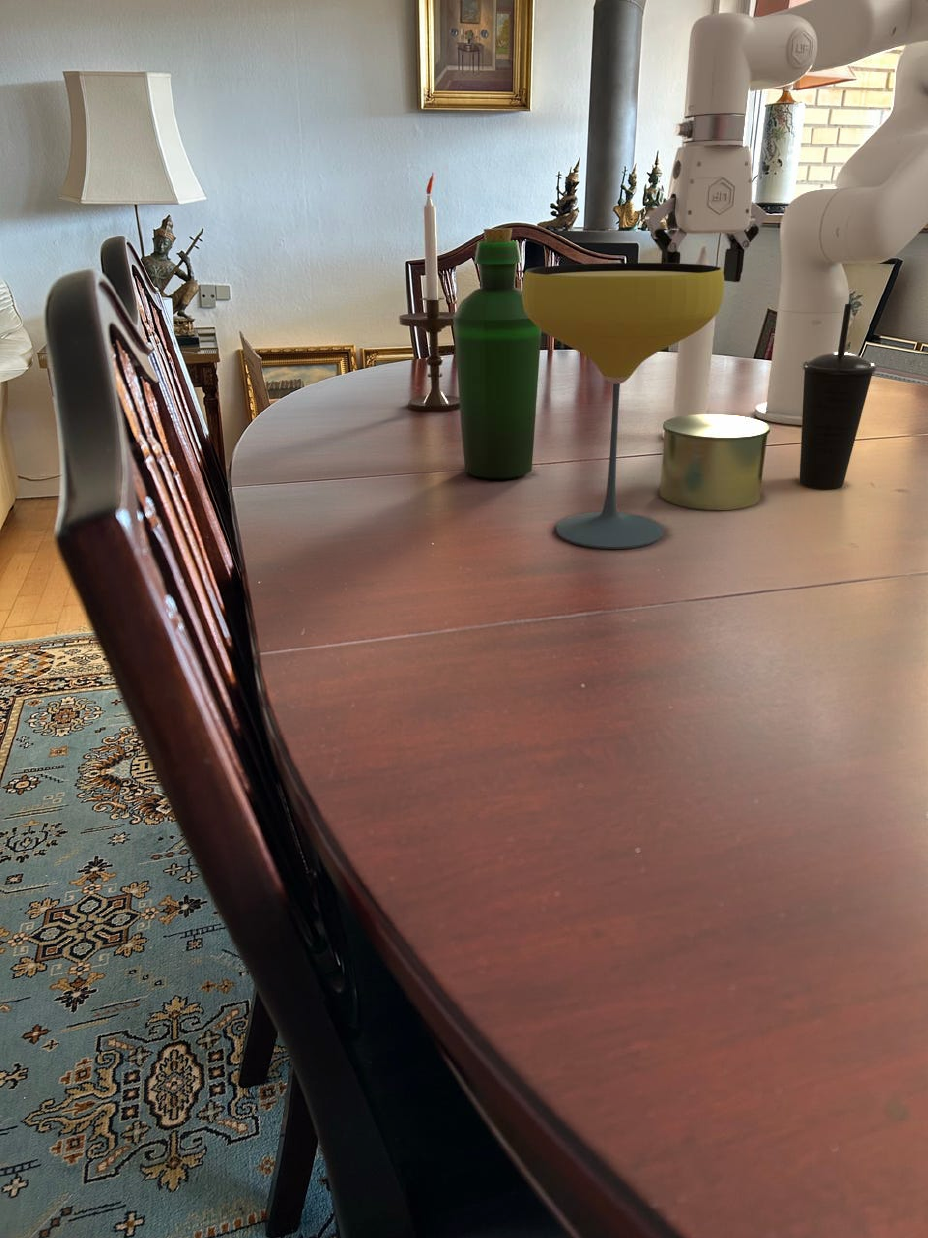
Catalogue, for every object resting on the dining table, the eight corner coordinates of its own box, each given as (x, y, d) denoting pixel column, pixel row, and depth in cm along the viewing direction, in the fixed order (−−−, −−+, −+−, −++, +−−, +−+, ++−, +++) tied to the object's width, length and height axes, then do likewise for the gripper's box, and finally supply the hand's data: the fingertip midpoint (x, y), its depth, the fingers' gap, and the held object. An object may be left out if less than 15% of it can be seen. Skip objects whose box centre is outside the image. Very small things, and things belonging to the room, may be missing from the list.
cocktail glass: (661, 576, 80) (685, 278, 69) (488, 543, 89) (485, 274, 78) (723, 519, 94) (750, 263, 83) (567, 495, 102) (574, 261, 92)
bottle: (550, 464, 115) (555, 226, 103) (528, 487, 106) (531, 229, 94) (471, 458, 118) (468, 227, 106) (444, 480, 109) (436, 230, 97)
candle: (714, 444, 123) (733, 247, 112) (661, 442, 124) (676, 247, 113) (712, 432, 129) (730, 244, 118) (662, 430, 130) (675, 245, 120)
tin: (724, 477, 108) (731, 410, 105) (782, 503, 98) (792, 431, 95) (640, 487, 105) (644, 419, 102) (691, 515, 95) (698, 441, 92)
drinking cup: (823, 496, 100) (852, 309, 92) (772, 480, 106) (795, 303, 98) (870, 486, 103) (903, 304, 95) (819, 471, 109) (845, 298, 101)
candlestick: (471, 399, 154) (467, 172, 139) (465, 412, 144) (460, 170, 129) (408, 399, 155) (398, 174, 140) (398, 412, 145) (386, 172, 130)
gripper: (666, 131, 105) (656, 287, 112) (792, 131, 109) (774, 281, 117) (636, 136, 111) (628, 283, 119) (756, 136, 116) (741, 278, 123)
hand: (700, 282), depth 118 cm, fingers open, 8 cm apart
